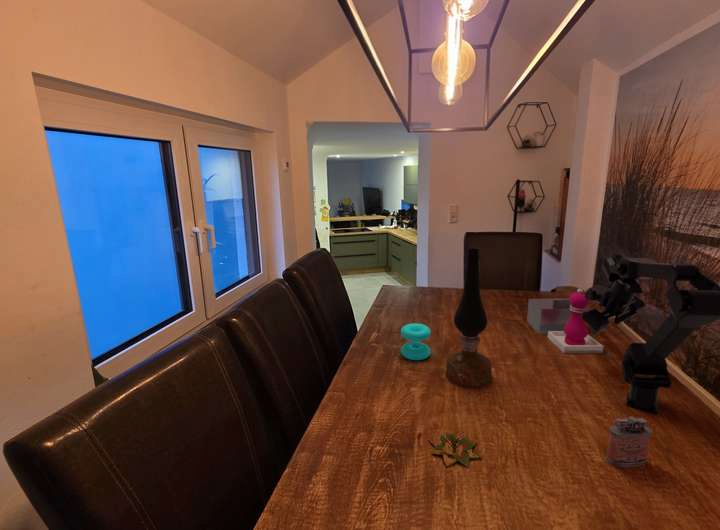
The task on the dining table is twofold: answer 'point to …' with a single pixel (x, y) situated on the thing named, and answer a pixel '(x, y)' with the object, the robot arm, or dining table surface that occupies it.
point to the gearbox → (548, 314)
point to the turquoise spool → (415, 348)
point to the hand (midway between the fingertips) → (604, 328)
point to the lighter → (628, 442)
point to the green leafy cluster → (464, 442)
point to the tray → (589, 346)
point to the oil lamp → (470, 333)
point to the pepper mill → (576, 320)
